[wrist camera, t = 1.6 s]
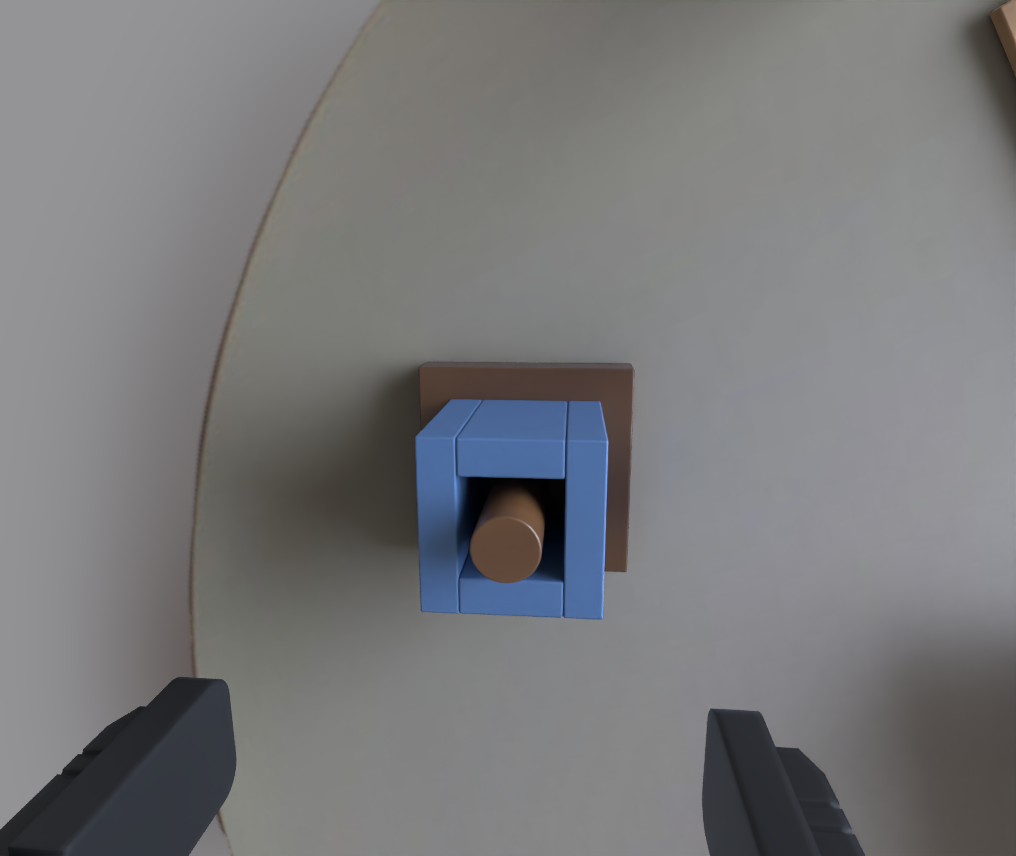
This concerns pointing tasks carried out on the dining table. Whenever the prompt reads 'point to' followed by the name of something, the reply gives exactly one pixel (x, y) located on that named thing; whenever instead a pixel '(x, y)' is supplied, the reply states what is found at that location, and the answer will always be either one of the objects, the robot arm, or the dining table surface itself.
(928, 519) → the dining table surface
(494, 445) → the blue pencil cup
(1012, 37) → the wooden board
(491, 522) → the dowel stand
